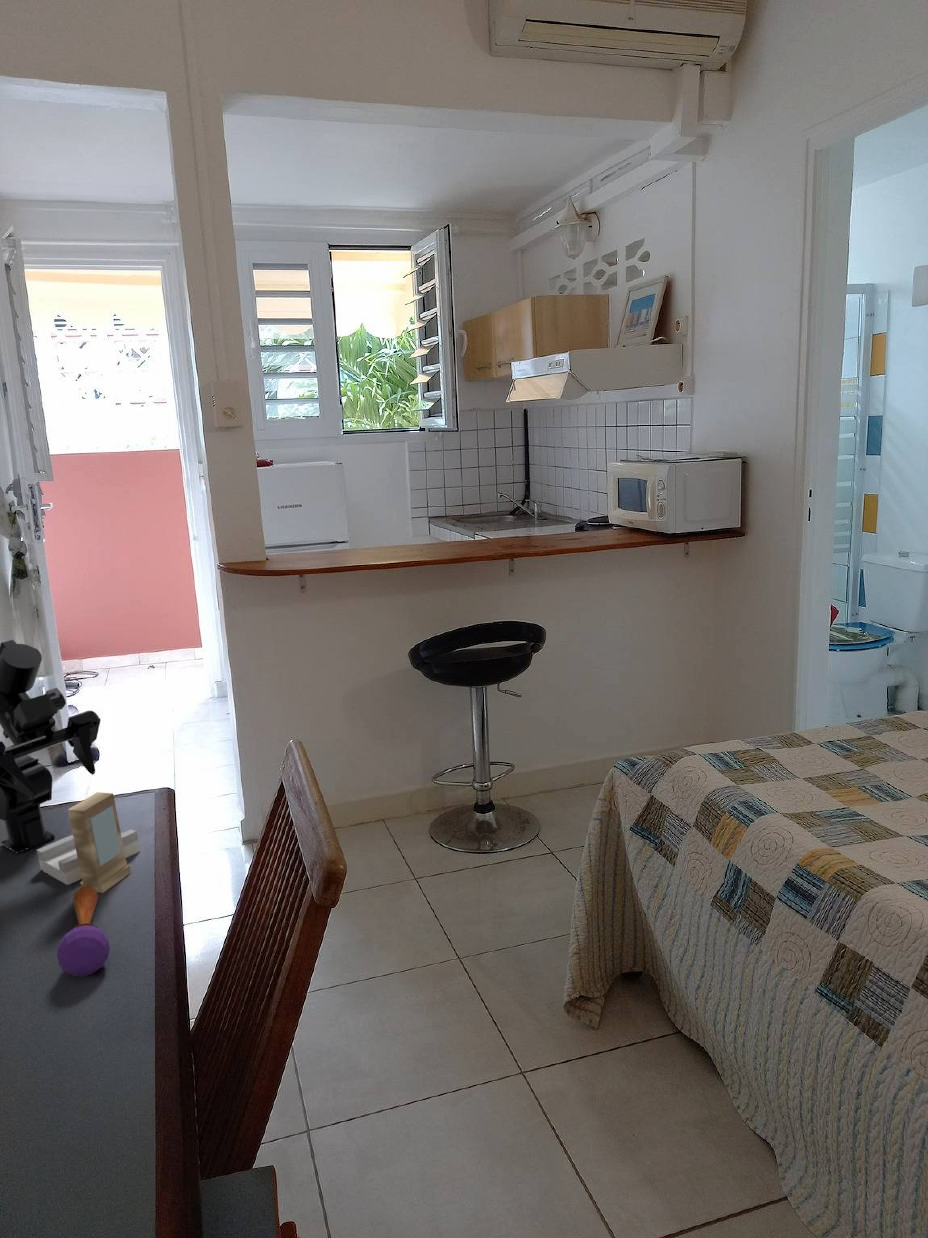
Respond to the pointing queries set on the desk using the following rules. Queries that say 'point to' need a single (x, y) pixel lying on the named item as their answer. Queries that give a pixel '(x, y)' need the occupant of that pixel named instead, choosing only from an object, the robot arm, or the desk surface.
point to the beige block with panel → (98, 842)
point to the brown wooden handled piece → (83, 938)
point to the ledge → (76, 873)
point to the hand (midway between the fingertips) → (65, 784)
